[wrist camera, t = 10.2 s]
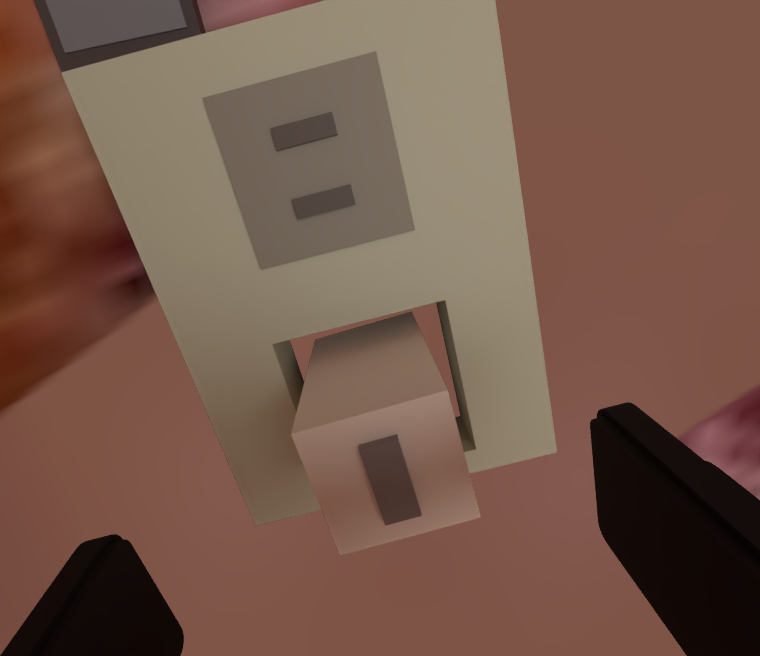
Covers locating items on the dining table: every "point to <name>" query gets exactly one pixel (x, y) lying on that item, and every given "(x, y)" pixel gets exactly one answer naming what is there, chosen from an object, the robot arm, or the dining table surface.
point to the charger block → (381, 437)
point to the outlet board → (327, 213)
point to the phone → (114, 27)
